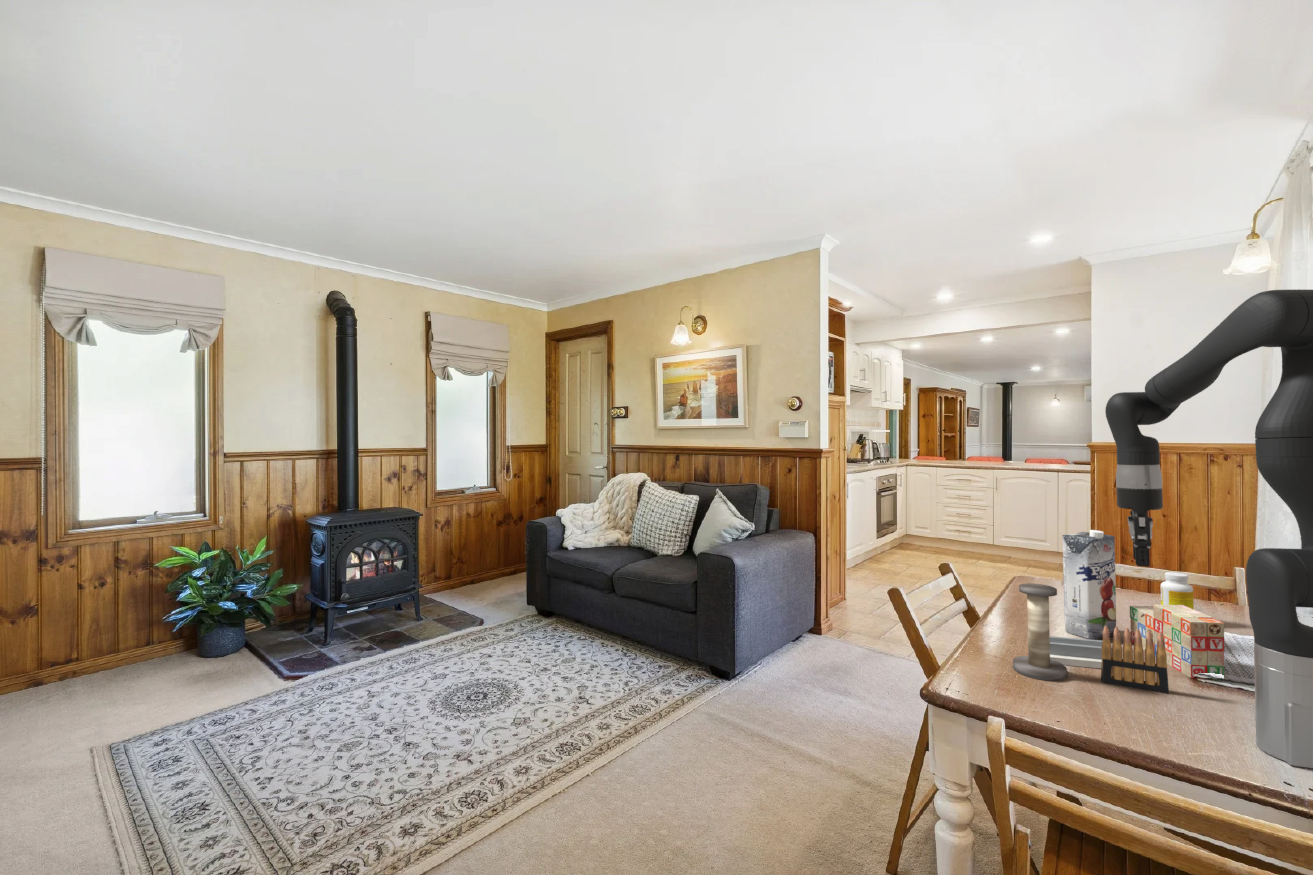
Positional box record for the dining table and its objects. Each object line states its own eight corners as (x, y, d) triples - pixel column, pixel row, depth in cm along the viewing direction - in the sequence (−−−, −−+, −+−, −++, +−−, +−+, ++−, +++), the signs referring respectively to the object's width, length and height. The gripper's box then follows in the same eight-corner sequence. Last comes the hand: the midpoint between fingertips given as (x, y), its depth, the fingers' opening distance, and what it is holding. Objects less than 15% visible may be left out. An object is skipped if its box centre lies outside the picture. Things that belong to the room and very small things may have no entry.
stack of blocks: (1129, 642, 144) (1128, 593, 143) (1158, 643, 142) (1157, 593, 142) (1191, 678, 123) (1190, 620, 122) (1226, 680, 121) (1224, 621, 121)
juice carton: (1059, 632, 152) (1057, 529, 151) (1084, 625, 156) (1082, 525, 156) (1096, 643, 143) (1094, 534, 143) (1121, 636, 148) (1119, 530, 147)
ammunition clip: (1102, 683, 121) (1100, 625, 121) (1100, 679, 123) (1099, 623, 123) (1169, 693, 116) (1168, 634, 116) (1167, 690, 117) (1165, 631, 117)
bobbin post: (1073, 683, 121) (1071, 595, 121) (1018, 677, 125) (1016, 591, 125) (1059, 665, 131) (1057, 583, 131) (1008, 660, 134) (1006, 580, 134)
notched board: (1126, 671, 127) (1125, 652, 127) (1045, 663, 132) (1045, 645, 132) (1110, 655, 135) (1110, 638, 135) (1035, 648, 141) (1035, 632, 141)
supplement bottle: (1201, 624, 154) (1200, 576, 154) (1176, 625, 154) (1175, 577, 154) (1178, 616, 161) (1177, 570, 161) (1154, 617, 161) (1153, 571, 161)
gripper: (1165, 488, 115) (1168, 570, 115) (1159, 484, 126) (1161, 558, 126) (1117, 487, 120) (1119, 566, 119) (1115, 483, 131) (1117, 555, 131)
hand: (1141, 562), depth 123 cm, fingers open, 8 cm apart
